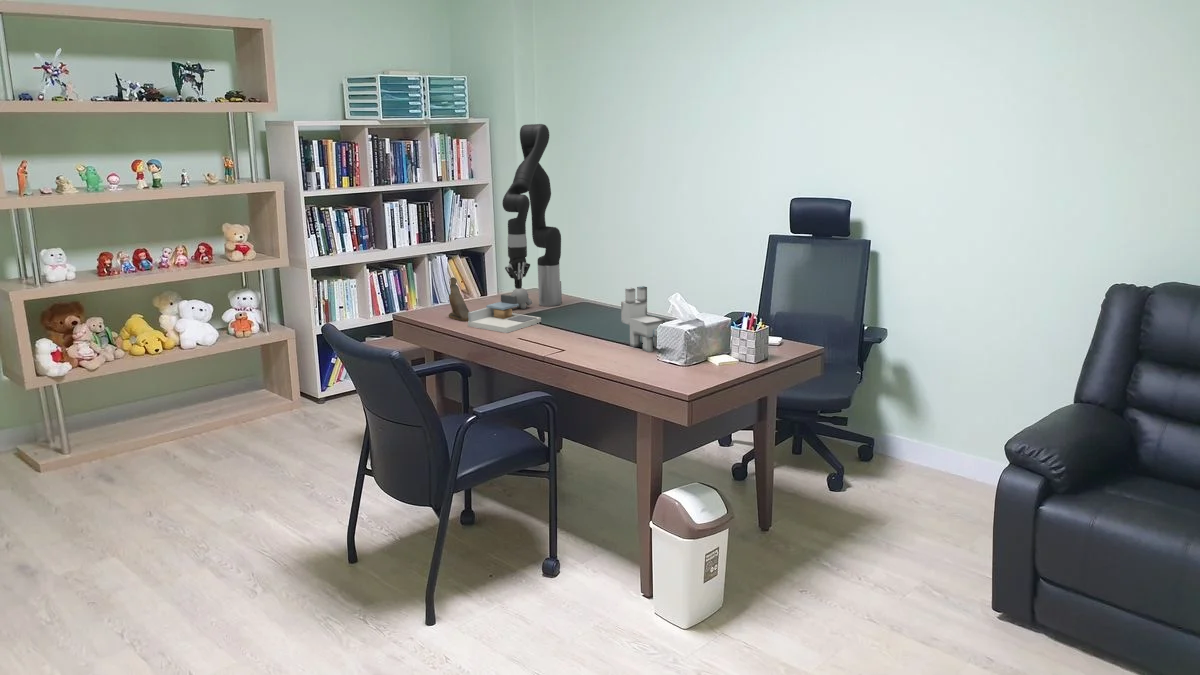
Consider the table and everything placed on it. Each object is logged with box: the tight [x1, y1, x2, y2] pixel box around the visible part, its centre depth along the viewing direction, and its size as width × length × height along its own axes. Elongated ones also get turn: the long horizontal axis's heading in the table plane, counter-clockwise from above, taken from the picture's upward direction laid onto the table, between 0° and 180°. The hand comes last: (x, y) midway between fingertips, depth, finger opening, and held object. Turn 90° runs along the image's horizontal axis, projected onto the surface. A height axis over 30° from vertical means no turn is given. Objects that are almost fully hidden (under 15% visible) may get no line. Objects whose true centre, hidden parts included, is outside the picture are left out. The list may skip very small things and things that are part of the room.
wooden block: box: [494, 308, 513, 319], centre depth 345 cm, size 5×5×5 cm
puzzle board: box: [467, 307, 542, 334], centre depth 339 cm, size 20×20×6 cm
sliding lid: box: [485, 293, 519, 310], centre depth 344 cm, size 9×9×4 cm
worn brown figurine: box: [448, 276, 470, 322], centre depth 350 cm, size 12×6×18 cm, turn 38°
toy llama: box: [620, 285, 666, 353], centre depth 302 cm, size 8×18×20 cm, turn 34°
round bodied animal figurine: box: [510, 287, 533, 310], centre depth 366 cm, size 7×12×8 cm, turn 126°
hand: (518, 288), depth 350 cm, fingers closed
